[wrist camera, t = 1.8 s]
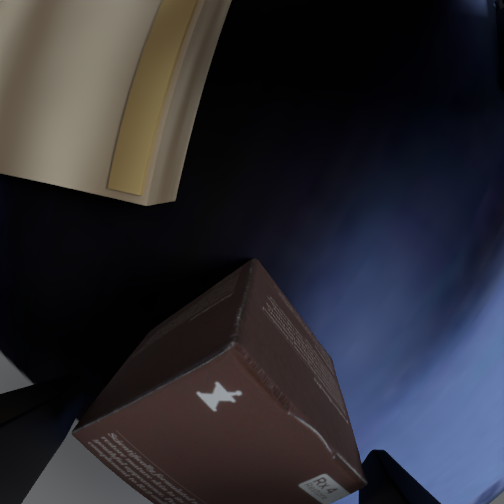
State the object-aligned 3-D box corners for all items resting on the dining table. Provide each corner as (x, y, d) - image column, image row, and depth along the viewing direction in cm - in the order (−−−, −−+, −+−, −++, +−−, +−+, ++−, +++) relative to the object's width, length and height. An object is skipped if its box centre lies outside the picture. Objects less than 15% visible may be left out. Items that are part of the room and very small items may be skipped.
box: (148, 327, 14) (62, 429, 7) (257, 252, 13) (233, 335, 6) (229, 418, 15) (203, 539, 7) (336, 362, 14) (372, 490, 6)
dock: (242, -28, 10) (233, -71, 7) (175, 200, 13) (144, 206, 9) (24, -7, 10) (-6, -24, 7) (-29, 159, 13) (-67, 160, 10)
